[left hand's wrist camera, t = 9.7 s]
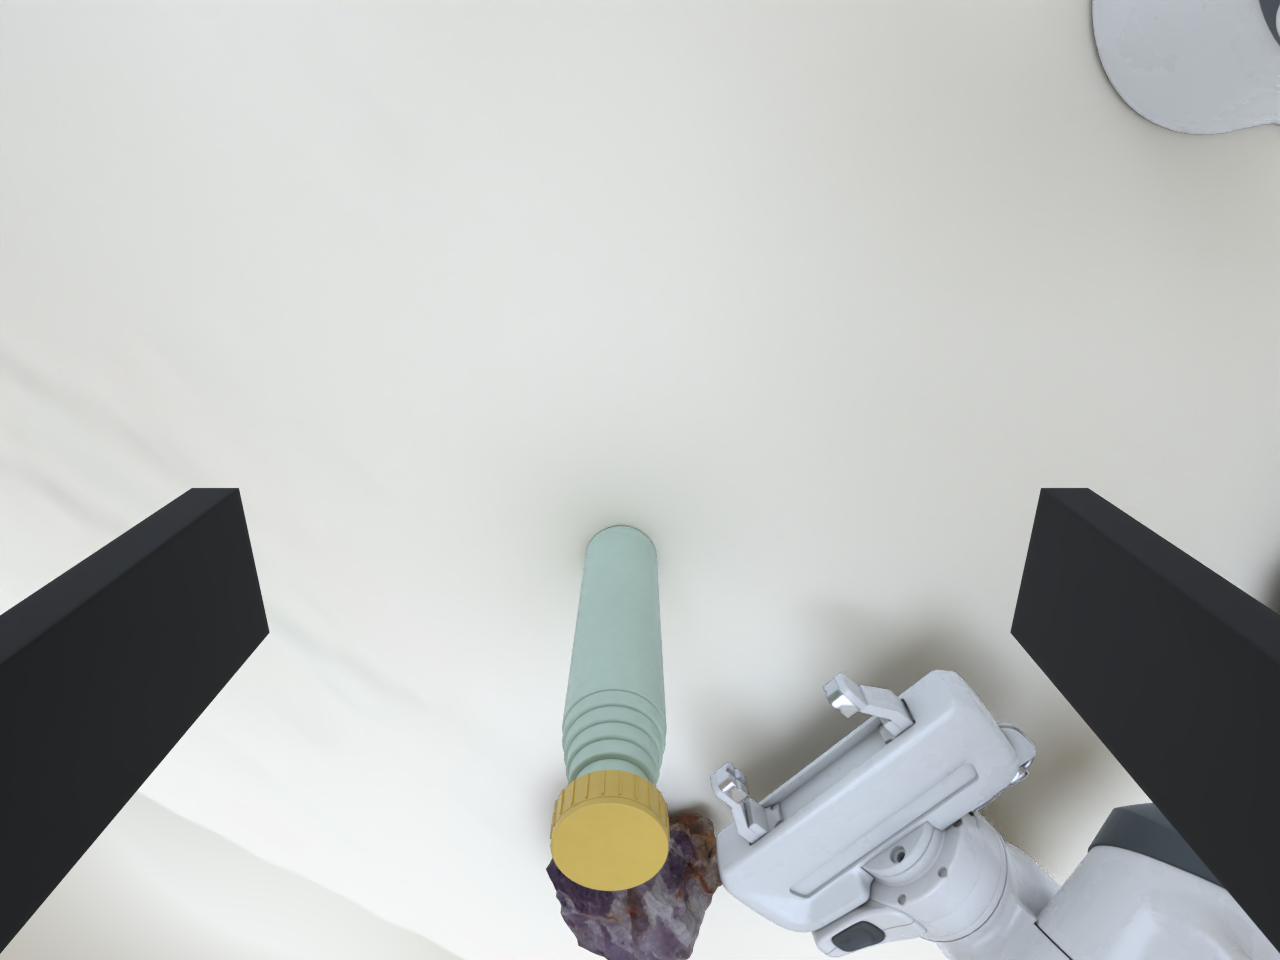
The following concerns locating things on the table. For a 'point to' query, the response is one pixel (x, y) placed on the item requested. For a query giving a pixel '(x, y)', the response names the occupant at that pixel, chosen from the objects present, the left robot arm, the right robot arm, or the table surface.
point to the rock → (648, 901)
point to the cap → (610, 830)
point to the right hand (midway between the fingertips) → (774, 731)
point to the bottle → (616, 662)
